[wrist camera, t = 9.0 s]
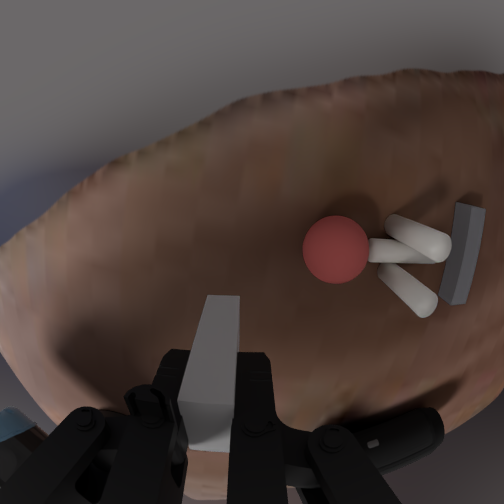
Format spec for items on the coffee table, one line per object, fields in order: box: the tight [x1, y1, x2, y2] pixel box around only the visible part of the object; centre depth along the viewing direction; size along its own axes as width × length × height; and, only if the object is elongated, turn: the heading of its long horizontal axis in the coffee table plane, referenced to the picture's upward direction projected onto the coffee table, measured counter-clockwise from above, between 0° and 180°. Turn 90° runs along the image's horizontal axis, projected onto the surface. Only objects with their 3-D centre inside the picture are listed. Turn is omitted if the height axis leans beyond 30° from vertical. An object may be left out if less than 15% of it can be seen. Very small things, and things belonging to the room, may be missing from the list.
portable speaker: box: [352, 407, 444, 475], centre depth 32 cm, size 26×10×10 cm, turn 104°
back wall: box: [438, 202, 486, 305], centre depth 25 cm, size 3×12×3 cm, turn 179°
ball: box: [303, 215, 369, 284], centre depth 23 cm, size 6×6×6 cm
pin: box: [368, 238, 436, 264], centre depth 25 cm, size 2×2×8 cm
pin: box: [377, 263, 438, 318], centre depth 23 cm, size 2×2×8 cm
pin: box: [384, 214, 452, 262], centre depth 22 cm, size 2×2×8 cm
